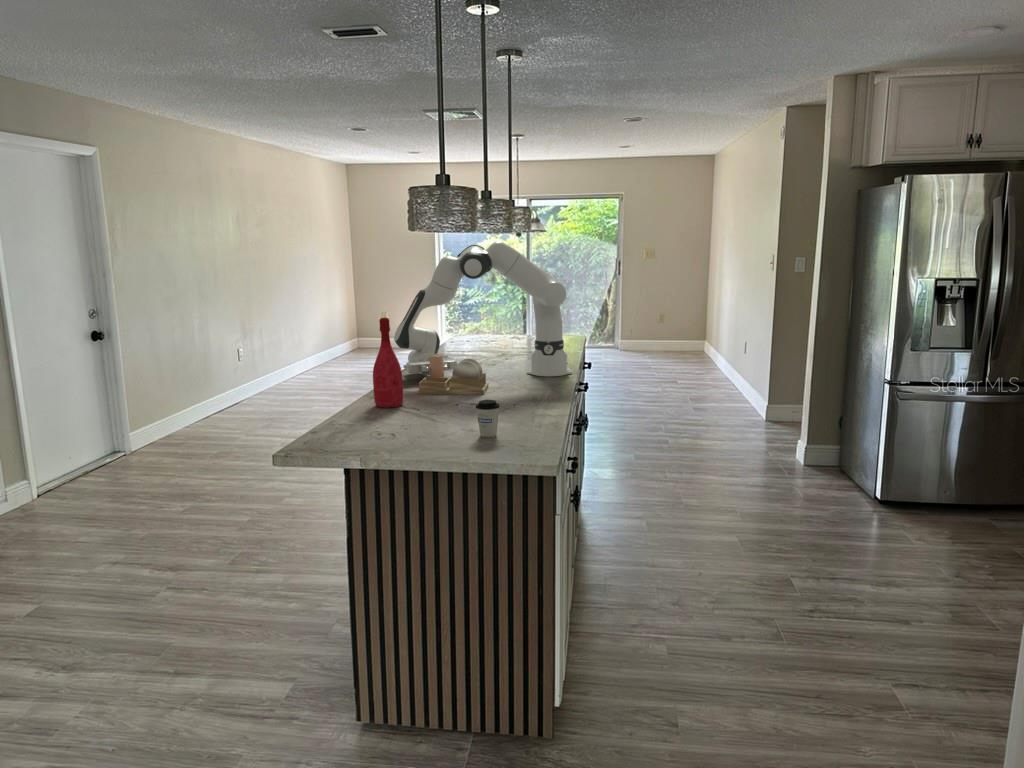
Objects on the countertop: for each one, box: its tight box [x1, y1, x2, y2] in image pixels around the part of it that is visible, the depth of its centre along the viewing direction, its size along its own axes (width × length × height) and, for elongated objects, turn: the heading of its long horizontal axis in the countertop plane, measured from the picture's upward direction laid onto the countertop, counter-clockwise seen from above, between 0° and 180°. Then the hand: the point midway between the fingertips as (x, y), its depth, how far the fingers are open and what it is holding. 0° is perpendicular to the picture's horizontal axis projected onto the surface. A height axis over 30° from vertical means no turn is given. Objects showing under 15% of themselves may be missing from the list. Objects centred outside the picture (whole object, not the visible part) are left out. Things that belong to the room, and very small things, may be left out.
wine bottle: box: [372, 317, 404, 409], centre depth 231 cm, size 10×10×30 cm
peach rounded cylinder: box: [429, 355, 445, 377], centre depth 268 cm, size 6×6×11 cm
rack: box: [418, 357, 489, 395], centre depth 255 cm, size 13×24×12 cm, turn 84°
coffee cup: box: [475, 399, 501, 438], centre depth 194 cm, size 7×7×10 cm
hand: (437, 368), depth 267 cm, fingers closed on peach rounded cylinder, 5 cm apart
